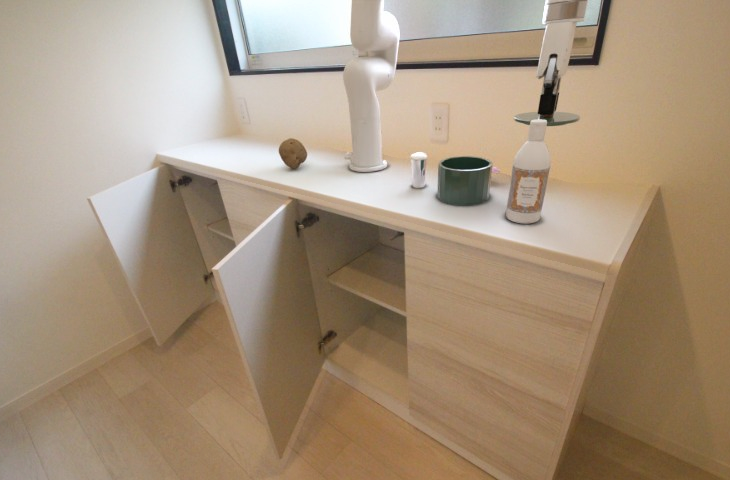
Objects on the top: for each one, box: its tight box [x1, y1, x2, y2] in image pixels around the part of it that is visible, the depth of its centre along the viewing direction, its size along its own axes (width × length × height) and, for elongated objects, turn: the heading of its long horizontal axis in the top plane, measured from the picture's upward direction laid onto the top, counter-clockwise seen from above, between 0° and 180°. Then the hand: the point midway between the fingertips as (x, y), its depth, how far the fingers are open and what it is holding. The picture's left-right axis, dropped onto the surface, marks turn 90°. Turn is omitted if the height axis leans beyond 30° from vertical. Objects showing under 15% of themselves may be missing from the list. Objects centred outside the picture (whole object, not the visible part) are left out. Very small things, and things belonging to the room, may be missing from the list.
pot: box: [436, 155, 493, 207], centre depth 90 cm, size 13×13×8 cm
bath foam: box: [505, 119, 552, 225], centre depth 74 cm, size 7×7×20 cm
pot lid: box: [513, 89, 581, 127], centre depth 81 cm, size 14×14×7 cm
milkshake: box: [407, 151, 428, 189], centre depth 98 cm, size 4×5×10 cm
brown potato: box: [278, 137, 308, 171], centre depth 121 cm, size 9×9×10 cm
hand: (546, 112), depth 82 cm, fingers closed on pot lid, 3 cm apart
